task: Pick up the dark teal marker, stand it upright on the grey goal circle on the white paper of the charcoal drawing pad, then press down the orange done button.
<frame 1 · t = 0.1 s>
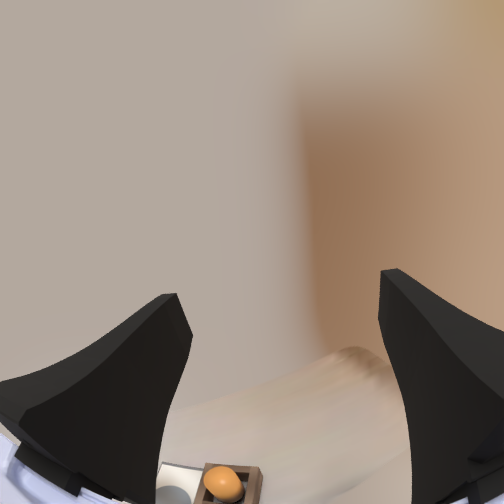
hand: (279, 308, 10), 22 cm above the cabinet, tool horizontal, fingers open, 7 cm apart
done button: (224, 485, 18), point 3 cm above the cabinet, slide at 0.0 cm
button collar: (233, 495, 19), on the cabinet
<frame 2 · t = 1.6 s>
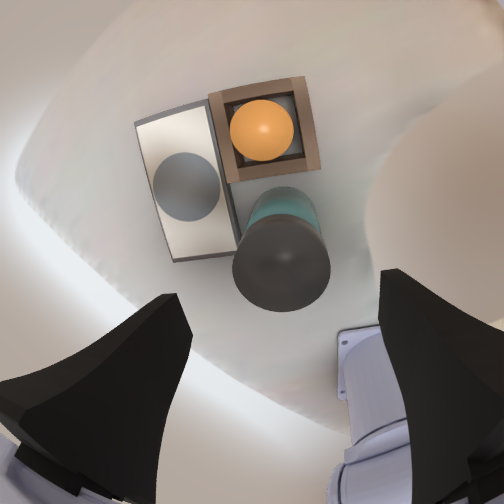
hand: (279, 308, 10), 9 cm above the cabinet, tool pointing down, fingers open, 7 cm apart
drawing pad: (190, 184, 18), on the cabinet
done button: (264, 129, 13), point 3 cm above the cabinet, slide at 0.0 cm
button collar: (268, 128, 16), on the cabinet
marker: (284, 217, 18), on the cabinet
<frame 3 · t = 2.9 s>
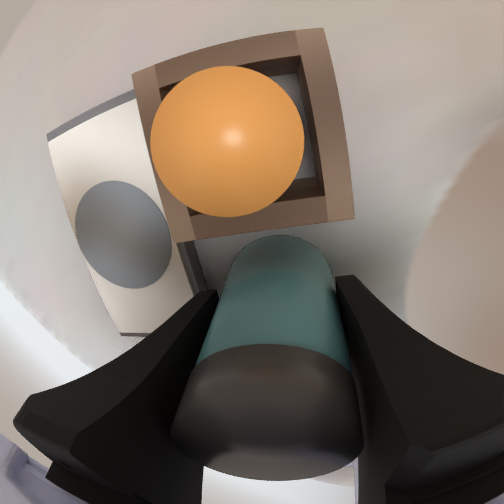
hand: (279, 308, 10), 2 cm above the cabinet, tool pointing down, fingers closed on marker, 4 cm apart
drawing pad: (131, 227, 11), on the cabinet
done button: (237, 137, 6), point 3 cm above the cabinet, slide at 0.0 cm
button collar: (252, 132, 9), on the cabinet
marker: (280, 282, 11), on the cabinet, touching gripper
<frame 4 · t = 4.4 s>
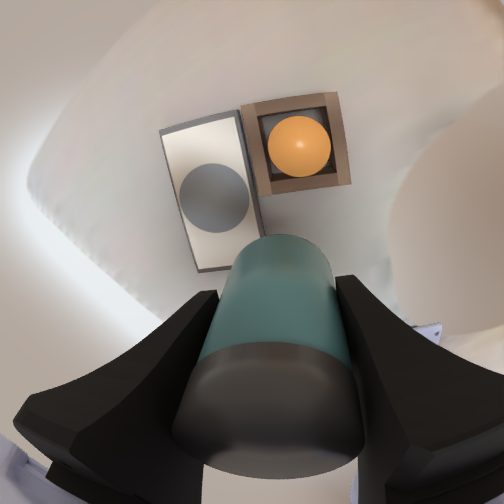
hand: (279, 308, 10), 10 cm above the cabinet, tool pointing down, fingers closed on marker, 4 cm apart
drawing pad: (217, 194, 18), on the cabinet
done button: (298, 144, 13), point 3 cm above the cabinet, slide at 0.0 cm
button collar: (296, 140, 16), on the cabinet
marker: (281, 281, 11), point 8 cm above the cabinet, touching gripper
when the fingers open (3 cm above the cabinet, at t = 6.2 s): marker stays where it is, resting on drawing pad.
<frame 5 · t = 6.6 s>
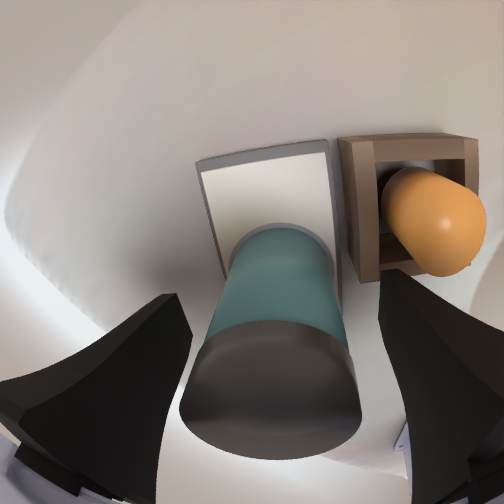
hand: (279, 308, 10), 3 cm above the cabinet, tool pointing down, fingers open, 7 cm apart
drawing pad: (281, 261, 13), on the cabinet
done button: (431, 216, 8), point 3 cm above the cabinet, slide at 0.0 cm
button collar: (400, 192, 11), on the cabinet
marker: (281, 273, 12), point 1 cm above the cabinet, touching drawing pad
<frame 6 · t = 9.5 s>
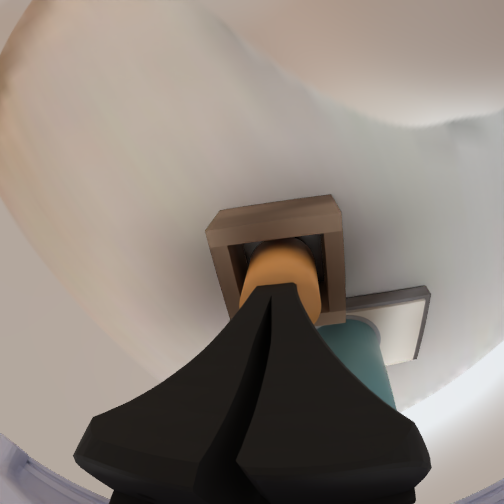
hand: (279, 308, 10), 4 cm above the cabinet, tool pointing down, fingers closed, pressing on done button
drawing pad: (339, 334, 15), on the cabinet
done button: (281, 284, 11), point 3 cm above the cabinet, slide at 0.3 cm, touching gripper
button collar: (283, 253, 13), on the cabinet
marker: (341, 347, 14), point 1 cm above the cabinet, touching drawing pad
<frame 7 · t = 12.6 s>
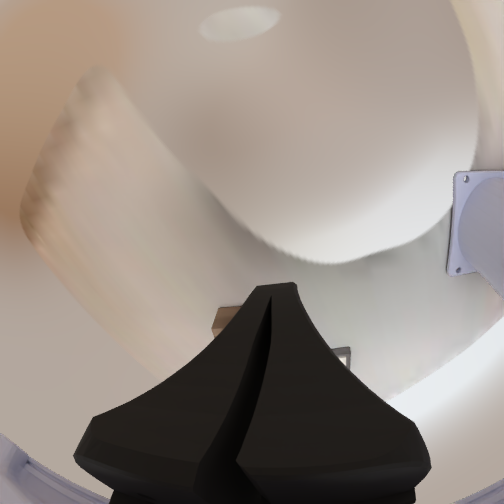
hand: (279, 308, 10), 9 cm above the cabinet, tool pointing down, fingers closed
button collar: (256, 330, 22), on the cabinet
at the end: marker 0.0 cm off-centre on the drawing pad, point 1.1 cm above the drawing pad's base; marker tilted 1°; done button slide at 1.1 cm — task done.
